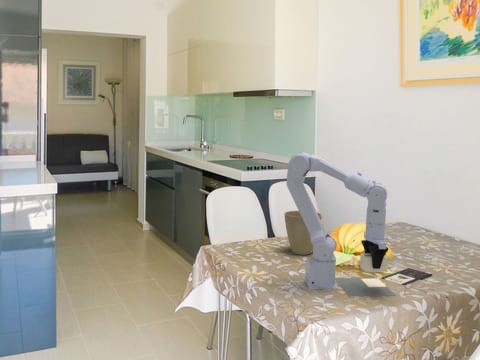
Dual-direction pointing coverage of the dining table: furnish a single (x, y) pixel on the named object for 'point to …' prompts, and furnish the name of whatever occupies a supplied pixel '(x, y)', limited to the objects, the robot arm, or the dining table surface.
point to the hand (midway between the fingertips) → (373, 265)
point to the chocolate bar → (407, 276)
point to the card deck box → (367, 263)
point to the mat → (364, 287)
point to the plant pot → (298, 233)
